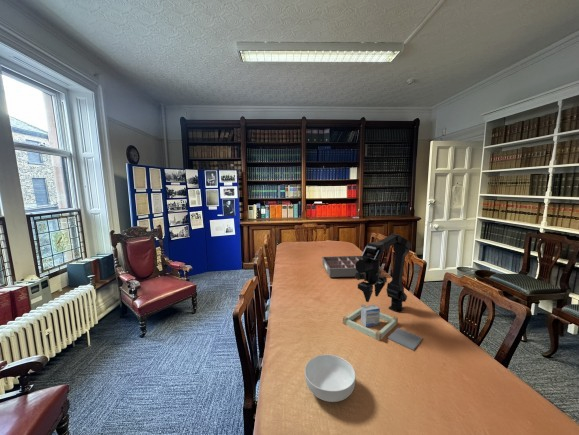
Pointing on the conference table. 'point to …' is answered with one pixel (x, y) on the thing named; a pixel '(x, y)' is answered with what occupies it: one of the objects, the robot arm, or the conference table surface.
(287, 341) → the conference table surface
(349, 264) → the organizer tray
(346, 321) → the pale green square frame
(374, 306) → the medicine box
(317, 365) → the cereal bowl
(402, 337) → the slate mat
